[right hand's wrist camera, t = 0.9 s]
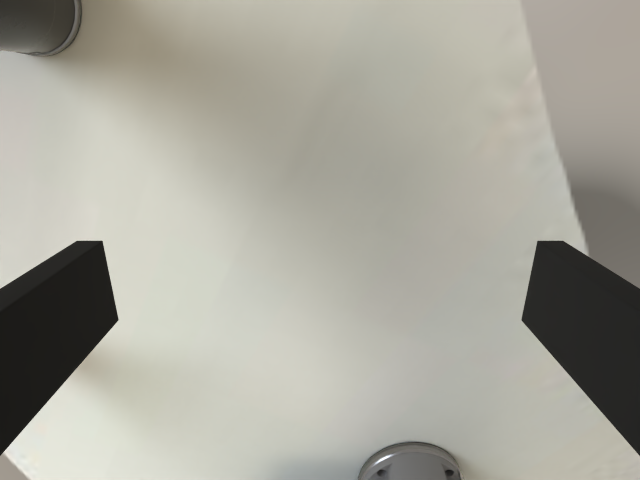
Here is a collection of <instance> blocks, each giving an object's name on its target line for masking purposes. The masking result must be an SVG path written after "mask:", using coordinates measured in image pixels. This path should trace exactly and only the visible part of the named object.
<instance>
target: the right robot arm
mask: <svg viewBox="0 0 640 480" xmlns="http://www.w3.org/2000/svg"><path fill="white" fill-rule="evenodd" d="M117 321H118V315H117V310H116V305H115V301H114V296H113V291H112V286H111V281H110V276H109V271H108V266H107V261H106V256H105V251H104V246H103V241H76V242H74V243H73V244H71V245H70V246H68V247H66V248H65V249H63V250H62V251H60V252H58V253H57V254H55V255H54V256H52V257H50V258H49V259H47V260H46V261H44V262H42V263H41V264H39V265H38V266H36V267H34V268H33V269H31V270H30V271H28V272H26V273H25V274H23V275H22V276H20V277H18V278H17V279H15V280H14V281H12V282H10V283H9V284H7V285H6V286H4V287H2V288H1V289H0V455H1V454H2V453H3V452H4V451H5V450H6V449H7V447H8V446H9V445H10V444H11V443H12V442H13V440H14V439H15V438H16V437H17V436H18V435H19V434H20V432H21V431H22V430H23V429H24V428H25V427H26V426H27V424H28V423H29V422H30V421H31V420H32V419H33V418H34V416H35V415H36V414H37V413H38V412H39V411H40V410H41V408H42V407H43V406H44V405H45V404H46V403H47V401H48V400H49V399H50V398H51V397H52V396H53V395H54V393H55V392H56V391H57V390H58V389H59V388H60V387H61V385H62V384H63V383H64V382H65V381H66V380H67V379H68V377H69V376H70V375H71V374H72V373H73V372H74V371H75V369H76V368H77V367H78V366H79V365H80V364H81V363H82V361H83V360H84V359H85V358H86V357H87V356H88V354H89V353H90V352H91V351H92V350H93V349H94V348H95V346H96V345H97V344H98V343H99V342H100V341H101V340H102V338H103V337H104V336H105V335H106V334H107V333H108V332H109V330H110V329H111V328H112V327H113V326H114V325H115V324H116V322H117ZM522 321H523V322H524V324H525V325H526V326H527V327H528V328H529V329H530V330H531V332H532V333H533V334H534V335H535V336H536V337H537V338H538V340H539V341H540V342H541V343H542V344H543V345H544V346H545V348H546V349H547V350H548V351H549V352H550V353H551V354H552V356H553V357H554V358H555V359H556V360H557V361H558V363H559V364H560V365H561V366H562V367H563V368H564V369H565V371H566V372H567V373H568V374H569V375H570V376H571V377H572V379H573V380H574V381H575V382H576V383H577V384H578V385H579V387H580V388H581V389H582V390H583V391H584V392H585V393H586V395H587V396H588V397H589V398H590V399H591V400H592V401H593V403H594V404H595V405H596V406H597V407H598V408H599V410H600V411H601V412H602V413H603V414H604V415H605V416H606V418H607V419H608V420H609V421H610V422H611V423H612V424H613V426H614V427H615V428H616V429H617V430H618V431H619V432H620V434H621V435H622V436H623V437H624V438H625V439H626V440H627V442H628V443H629V444H630V445H631V446H632V447H633V449H634V450H635V451H636V452H637V453H638V454H639V455H640V289H639V288H638V287H636V286H634V285H633V284H631V283H630V282H628V281H626V280H625V279H623V278H622V277H620V276H618V275H617V274H615V273H613V272H612V271H610V270H609V269H607V268H606V267H604V266H602V265H601V264H599V263H598V262H596V261H594V260H593V259H591V258H590V257H588V256H586V255H585V254H583V253H582V252H580V251H578V250H577V249H575V248H574V247H572V246H570V245H569V244H567V243H566V242H564V241H537V246H536V251H535V256H534V261H533V266H532V271H531V276H530V281H529V286H528V291H527V296H526V301H525V305H524V310H523V315H522ZM358 480H464V478H463V475H462V473H461V470H460V469H459V466H458V464H457V462H456V461H455V459H454V458H453V457H452V456H451V455H450V454H449V453H447V452H446V451H444V450H443V449H441V448H438V447H436V446H433V445H430V444H425V443H414V442H413V443H402V444H397V445H393V446H390V447H387V448H385V449H383V450H381V451H379V452H377V453H376V454H374V455H373V456H372V457H371V458H370V459H369V460H368V461H367V462H366V463H365V464H364V466H363V467H362V469H361V471H360V474H359V478H358Z"/></svg>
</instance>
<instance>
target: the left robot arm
mask: <svg viewBox="0 0 640 480" xmlns="http://www.w3.org/2000/svg"><path fill="white" fill-rule="evenodd" d="M80 19H81V6H80V0H0V50H3V51H12V52H17V53H24V54H28V55H36V56H48V55H53V54H56V53H58V52H60V51H62V50H64V49H65V48H66V47H67V46H68V45H69V44H70V43H71V42H72V41H73V39H74V38H75V36H76V34H77V32H78V29H79V25H80Z"/></svg>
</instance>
